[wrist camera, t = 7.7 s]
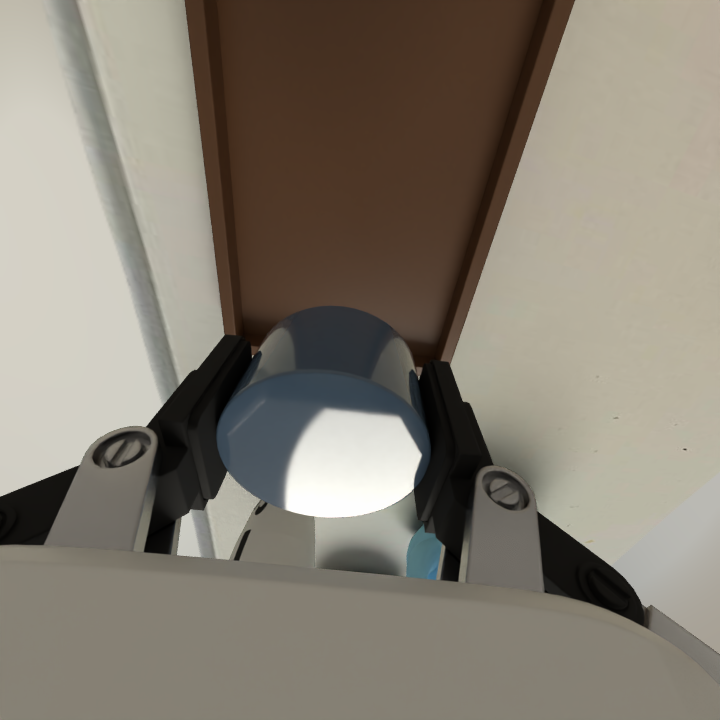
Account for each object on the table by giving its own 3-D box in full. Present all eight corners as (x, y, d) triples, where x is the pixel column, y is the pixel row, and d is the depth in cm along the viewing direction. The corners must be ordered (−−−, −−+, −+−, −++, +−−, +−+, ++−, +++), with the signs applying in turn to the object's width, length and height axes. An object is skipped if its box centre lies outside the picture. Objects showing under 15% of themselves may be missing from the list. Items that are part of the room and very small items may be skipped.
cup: (259, 466, 33) (220, 575, 24) (335, 485, 34) (322, 595, 26) (246, 509, 37) (209, 614, 29) (314, 524, 38) (297, 630, 30)
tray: (192, -146, 13) (159, -200, 11) (579, -74, 13) (614, -112, 11) (237, 335, 24) (226, 352, 22) (440, 361, 25) (445, 379, 23)
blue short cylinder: (293, 271, 9) (257, 327, 6) (449, 354, 11) (478, 432, 8) (235, 399, 12) (191, 480, 9) (365, 452, 13) (363, 537, 10)
